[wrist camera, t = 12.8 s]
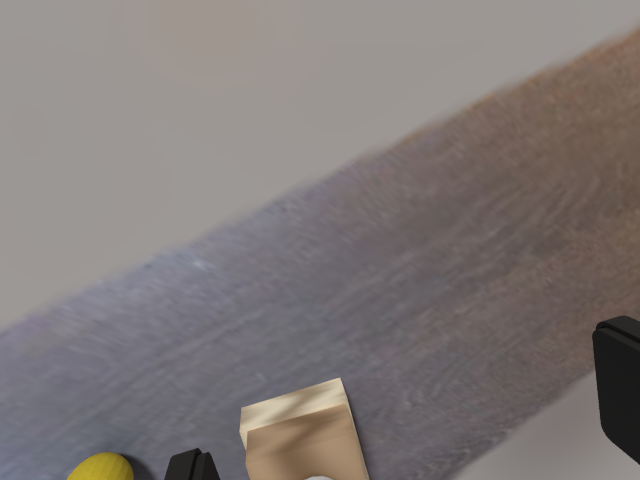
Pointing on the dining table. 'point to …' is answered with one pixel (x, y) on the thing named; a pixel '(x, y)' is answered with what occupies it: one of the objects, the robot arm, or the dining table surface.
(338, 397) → the beech base block
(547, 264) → the dining table surface
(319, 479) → the rook chess piece
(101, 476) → the lemon
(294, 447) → the tan top block
